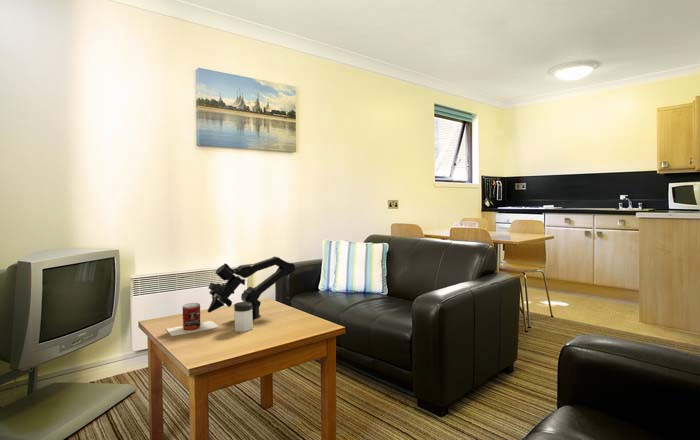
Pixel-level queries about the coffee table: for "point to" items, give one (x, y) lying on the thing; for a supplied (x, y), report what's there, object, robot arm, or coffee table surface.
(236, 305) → the jar
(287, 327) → the coffee table surface
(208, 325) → the letter mat
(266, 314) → the coffee table surface
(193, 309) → the canned food
